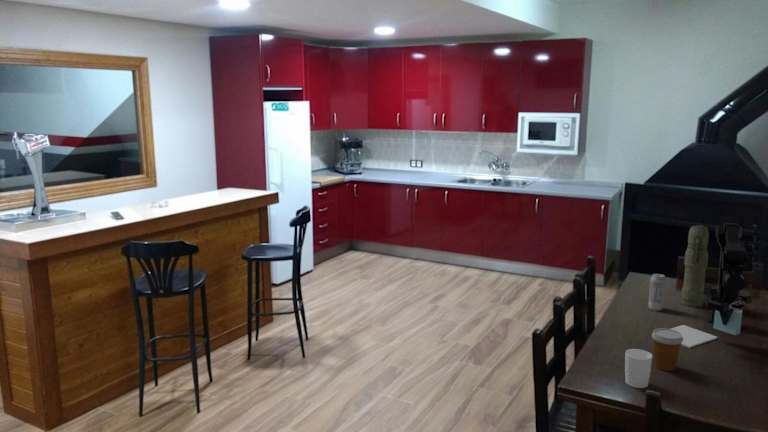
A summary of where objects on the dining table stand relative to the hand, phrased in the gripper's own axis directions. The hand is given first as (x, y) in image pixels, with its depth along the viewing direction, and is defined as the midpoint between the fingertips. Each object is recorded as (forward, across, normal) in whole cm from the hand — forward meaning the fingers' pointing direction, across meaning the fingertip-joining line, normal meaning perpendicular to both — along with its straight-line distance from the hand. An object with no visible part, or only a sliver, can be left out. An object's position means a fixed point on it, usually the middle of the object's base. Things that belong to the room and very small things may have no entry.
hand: (727, 323), depth 210 cm
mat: (+8, +6, -11) cm, 15 cm away
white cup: (+8, +54, +4) cm, 55 cm away
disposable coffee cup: (+8, +36, +1) cm, 37 cm away
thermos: (+8, -29, -32) cm, 44 cm away
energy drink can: (+8, -10, -36) cm, 38 cm away
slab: (+3, 0, 0) cm, 3 cm away
